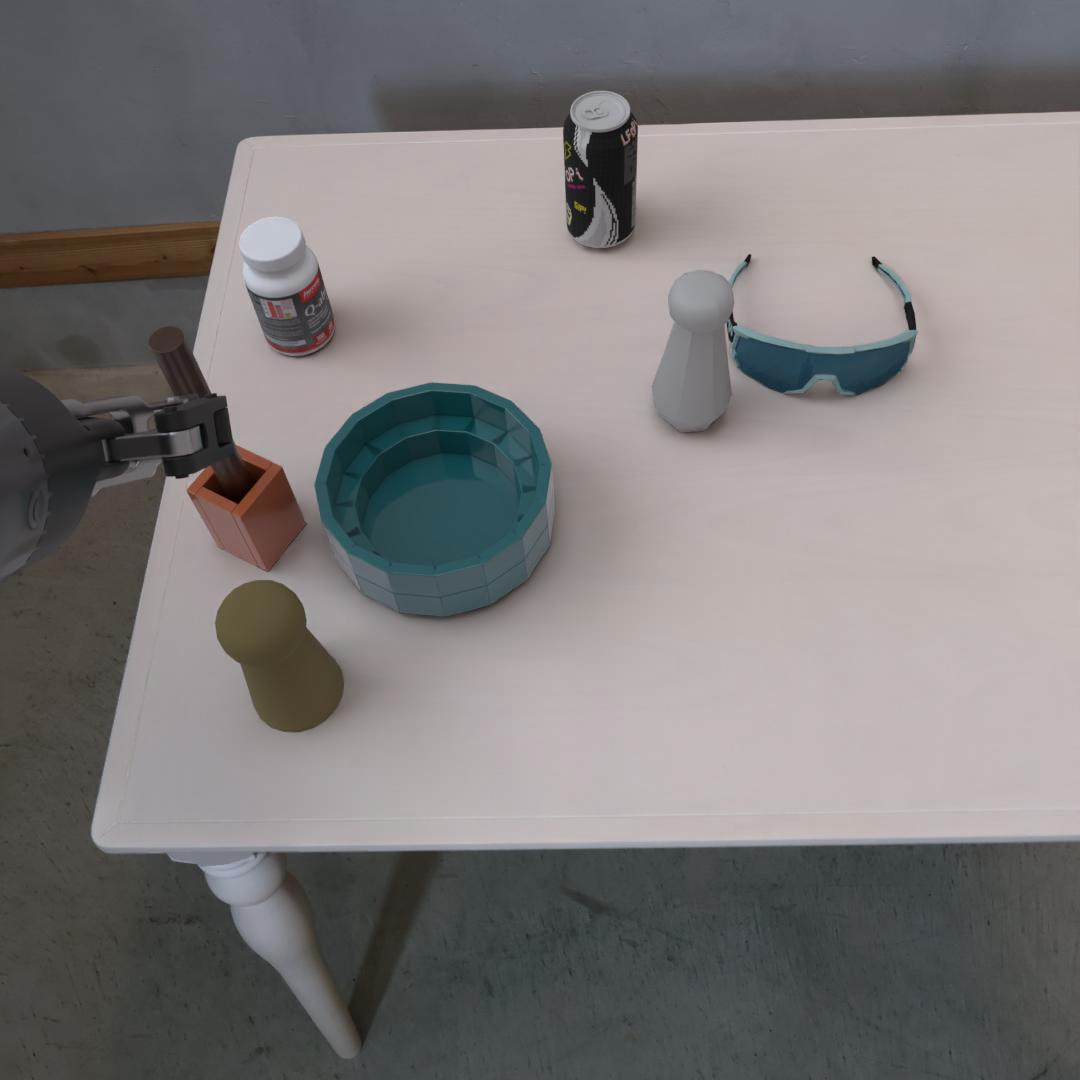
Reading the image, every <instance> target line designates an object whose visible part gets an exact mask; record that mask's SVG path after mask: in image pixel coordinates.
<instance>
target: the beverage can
mask: <svg viewBox="0 0 1080 1080" xmlns="http://www.w3.org/2000/svg"><path fill="white" fill-rule="evenodd" d="M638 125H639V124H638V121H637V119H636V116H635V115H634V113H633V112H632V111H631V105H630V103H629V102H628V100H627V99H626V98H625V96H624V97H623V96H622V95H621V94H619V93H616V92H613V91H610V90H609V91H608V90H593V91H590V92H587V93H584V94H582V95H580V96H578V97H577V98H576V99H574V101H573V102H572V103H571V106H570V111H569V113H568V114H567V116H566V118H565V119H564V123H563V128H562V140H563V165H564V167H563V168H564V187H565V188H564V193H565V217H566V219H565V220H566V229H567V231H568V234H569V235H570V236H571V238H572V239H573V240H575V241H576V243H578V244H581V245H582V246H586V247H588V248H593V249H608V248H612V247H616V246H618V245H620V244H622V243H624V242H625V241H626V240H627V239H629V238H630V237H631V235H632V234H633V233H634V230H635V228H636V214H637V212H636V210H637V208H636V207H637V176H638V174H637V173H638V169H637V168H638V143H639V141H638V139H639V138H638V137H639V126H638Z"/></svg>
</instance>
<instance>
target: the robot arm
mask: <svg viewBox="0 0 1080 1080" xmlns="http://www.w3.org/2000/svg"><path fill="white" fill-rule="evenodd" d="M108 413H109V414H110V415H111V416H112V418H113V419H111V418H103V417H95V416H96V415H102V414H103V415H104V414H108ZM152 417H153V418H154V425H155V428H153V429H150V426H149V421H150V419H151V418H152ZM233 440H234V438H233V431H232V426H231V419H230V414H229V408H228V400H227V396H226V395H218V393H217V392H211V394H205V397H204V398H199V396H198V395H197V394H191V395H181V396H174V395H172V396H167V397H166V399H164V400H159V401H154V402H146V401H145V399H144V398H142V396H140V395H137V394H134V395H115V396H108V397H102V398H96V399H90V400H83V401H81V400H78V399H76V398H58V397H57V395H55V394H54V393H53V392H52V391H51V390H49V389H48V388H47V387H45V385H43V384H41V383H40V382H38V381H36V380H35V379H33V378H32V377H29V376H28V375H26V374H23V373H22V372H20V371H17V370H14V369H12V368H8V367H4V366H1V365H0V584H2V583H4V582H6V581H7V580H9V579H11V578H12V577H14V576H16V575H17V574H19V573H21V572H23V571H24V570H26V569H27V568H29V567H31V566H33V565H34V564H36V563H38V562H40V561H41V560H43V559H45V558H46V557H48V556H49V555H52V554H53V553H54V552H55V551H56V550H58V549H59V548H60V547H61V546H63V545H64V544H65V543H66V542H67V540H68V539H69V538H70V537H71V536H72V535H73V534H74V532H75V530H76V529H77V528H78V526H79V524H80V523H81V521H82V519H83V517H84V515H85V513H86V511H87V509H88V505H89V503H90V500H91V499H92V498H94V497H95V496H96V495H97V493H98V492H99V491H100V490H104V489H108V488H112V487H117V486H121V485H126V484H130V483H134V482H138V481H144V480H148V479H151V478H152V477H154V476H155V474H156V473H157V470H158V467H159V465H160V464H162V470H163V472H164V477H167V478H168V477H169V478H171V477H172V478H173V477H174V478H175V479H176V480H180V479H187V478H190V475H193V474H196V473H198V472H200V471H203V470H204V469H205V468H206V467H208V466H210V465H212V464H214V463H216V462H218V461H220V460H222V459H224V458H226V457H228V456H230V455H232V454H233V453H235V450H234V443H233V442H232V441H233Z"/></svg>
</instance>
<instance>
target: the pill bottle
mask: <svg viewBox="0 0 1080 1080" xmlns="http://www.w3.org/2000/svg"><path fill="white" fill-rule="evenodd" d="M238 247H239V251H240V253H241V256H242V258H243V265H242V271H241V272H242V279H243V282H244V285H245V288H246V291H247V293H248V296H249V298H250V301H251V304H252V306H253V309H254V312H255V314H256V318H257V320H258V323H259V325H260V328H261V331H262V333H263V336H264V339H265V341H266V342H267V344H268V345H269V347H270V348H271V349H272V350H274V351H275V352H277V353H279V354H281V355H285V356H289V357H302V356H307V355H311V354H313V353H316V352H317V351H319V350H320V349H322V348H324V346H326V345H327V343H329V341H330V340H331V339H332V337H333V335H334V333H335V327H336V321H335V316H334V313H333V309H332V305H331V302H330V297H329V295H328V291H327V288H326V285H325V281H324V279H323V278H324V277H323V274H322V272H321V268H320V265H319V261H318V259H317V256H316V254H315V252H314V251H313V249H312V248H311V247H309V245H307V242H306V238H305V236H304V233H303V231H302V228H301V226H300V225H299V224H298V223H297V222H296V221H295V220H293V219H292V218H289V217H285V216H278V215H276V216H275V215H273V216H267V217H263V218H260V219H258V220H256V221H254V222H251V224H249V225H248V226H247V227H246V228H245V229H244V230H243V231H242V233H241V235H240V236H239V241H238Z"/></svg>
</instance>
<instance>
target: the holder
mask: <svg viewBox="0 0 1080 1080" xmlns="http://www.w3.org/2000/svg"><path fill="white" fill-rule="evenodd" d="M236 447H237V449H238V451H239V453H240V455H241V457H242V459H243V462H244V464H245V466H246V468H247V470H248V472H249V474H250V477H251V479H252V481H253V483H254V486H253V487H252V489H251V490H250V491H249V492H248V493H247V495H246V496H245V497H244V498H243V499H242V501H241V502H240V503H239V504H237V503H235V502H233V501H231V500H229V499H227V497H226V495H225V493H224V491H223V489H222V487H221V486H220V484H219V482H218V480H217V478H216V476H215V474H214V472H213V470H212V468H211V466H208V467H206V468H204V469H202V470H201V472H200V474H198V476H197V477H196V479H194V480H193V482H192V483H191V484H190V485H189V486H188V488H186V491H185V492H186V493H187V495H188V497H189V498H190V501H192V503H193V506H194V507H195V509H196V511H197V513H198V515H199V516H200V518H201V519H202V522H203V523H204V525H205V527H206V529H207V531H208V532H209V534H210V536H211V537H212V540H213V541H214V543H215V545H216V546H217V547H218V548H221V549H222V550H225V551H226V552H227V553H230V554H232V555H234V556H235V557H237V558H240V559H242V561H243V560H244V561H246V562H247V563H249V564H252V565H253V566H255V567H257V568H260V569H261V570H263V571H265V572H269V571H270V570H271V569H272V567H273V566H274V565H275V564H276V562H277V561H278V560H279V559H280V557H281V556H282V555H283V554H284V552H285V551H286V550H287V548H288V547H289V546H290V545H291V543H292V542H293V541H294V540H295V538H296V537H297V536H298V535H299V533H301V531H302V529H303V528H304V527H305V526H306V524H307V522H306V520H305V517H304V515H303V512H302V510H301V507H300V505H299V502H298V501H297V498H296V496H295V493H294V491H293V488H292V486H291V484H290V481H289V479H288V476H287V474H286V472H285V469H284V468H283V466H282V465H280V464H278V463H275V462H274V461H271V460H269V459H267V458H265V457H263V456H261V455H259V454H256V453H254V452H252V451H250V450H248V449H246V448H244V447H242V446H240V445H238V444H236Z"/></svg>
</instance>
